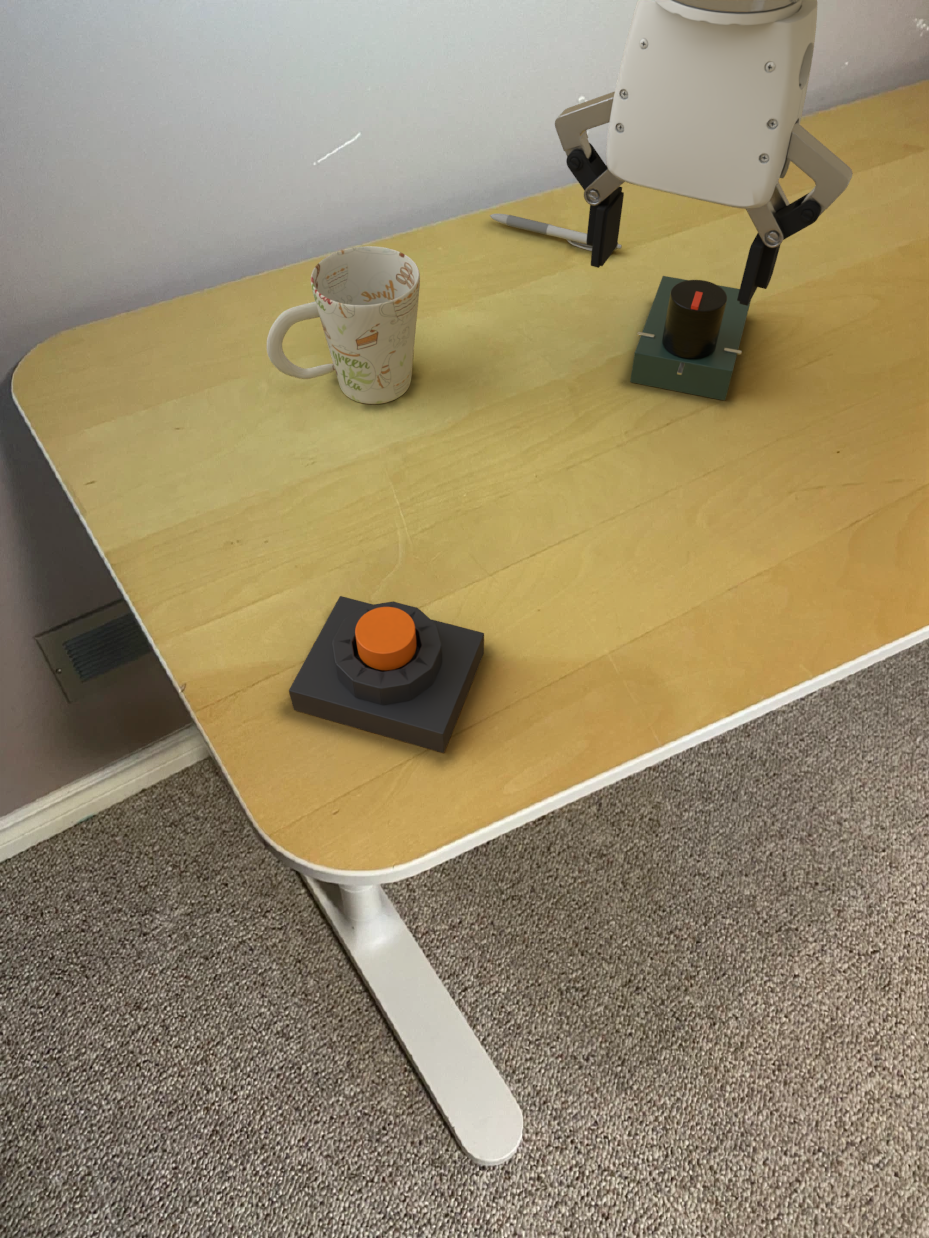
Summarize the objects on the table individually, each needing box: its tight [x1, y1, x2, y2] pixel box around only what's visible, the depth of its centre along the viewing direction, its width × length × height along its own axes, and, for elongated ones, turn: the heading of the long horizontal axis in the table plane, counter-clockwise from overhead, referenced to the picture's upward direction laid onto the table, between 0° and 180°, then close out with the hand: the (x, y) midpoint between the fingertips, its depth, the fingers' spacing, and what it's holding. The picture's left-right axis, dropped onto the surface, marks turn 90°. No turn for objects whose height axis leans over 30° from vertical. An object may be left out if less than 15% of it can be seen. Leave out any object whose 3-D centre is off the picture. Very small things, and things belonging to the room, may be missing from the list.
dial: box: [662, 279, 727, 359], centre depth 77 cm, size 4×4×5 cm
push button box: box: [288, 595, 485, 754], centre depth 60 cm, size 10×8×4 cm
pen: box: [489, 213, 623, 252], centre depth 95 cm, size 1×14×1 cm, turn 64°
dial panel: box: [629, 275, 752, 401], centre depth 82 cm, size 14×9×3 cm, turn 162°
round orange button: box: [355, 607, 416, 670], centre depth 58 cm, size 4×4×2 cm
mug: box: [266, 245, 421, 405], centre depth 77 cm, size 8×13×10 cm, turn 112°
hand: (674, 275), depth 61 cm, fingers open, 9 cm apart
